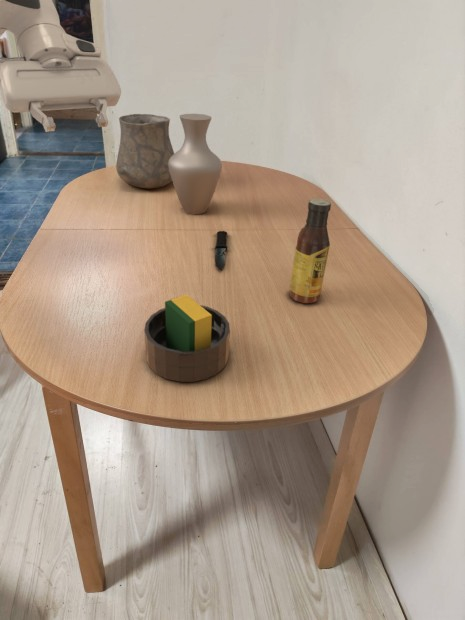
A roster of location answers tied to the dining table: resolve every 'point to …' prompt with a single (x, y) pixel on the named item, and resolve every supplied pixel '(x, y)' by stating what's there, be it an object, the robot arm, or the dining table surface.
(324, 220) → the sauce bottle
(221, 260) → the knife
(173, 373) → the bowl
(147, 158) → the vessel
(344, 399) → the dining table surface
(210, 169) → the vase
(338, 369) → the dining table surface
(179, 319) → the sponge
